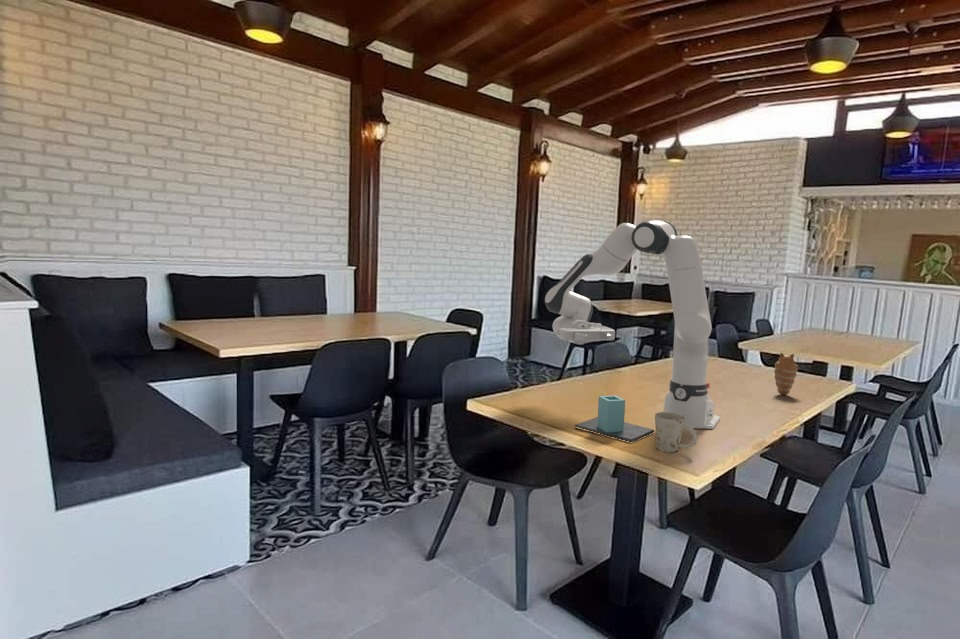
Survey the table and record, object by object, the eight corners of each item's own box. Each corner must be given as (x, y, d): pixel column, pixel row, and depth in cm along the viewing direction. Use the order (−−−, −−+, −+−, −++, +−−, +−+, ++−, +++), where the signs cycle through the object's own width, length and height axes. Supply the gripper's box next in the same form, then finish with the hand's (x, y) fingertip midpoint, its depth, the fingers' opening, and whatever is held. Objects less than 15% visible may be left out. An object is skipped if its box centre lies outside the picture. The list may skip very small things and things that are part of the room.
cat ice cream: (773, 396, 244) (777, 353, 242) (770, 392, 251) (774, 350, 249) (796, 398, 241) (800, 355, 239) (793, 394, 249) (797, 352, 247)
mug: (659, 442, 177) (661, 410, 176) (701, 452, 169) (703, 418, 168) (648, 449, 170) (650, 415, 169) (691, 459, 163) (693, 424, 161)
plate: (599, 419, 200) (600, 401, 199) (653, 433, 186) (655, 413, 186) (575, 428, 189) (576, 408, 188) (631, 443, 175) (632, 422, 174)
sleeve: (597, 426, 187) (598, 396, 186) (613, 425, 189) (615, 395, 188) (606, 432, 181) (608, 400, 180) (623, 431, 183) (625, 400, 182)
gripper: (553, 323, 209) (570, 328, 196) (603, 323, 215) (623, 328, 202) (552, 340, 210) (569, 347, 197) (602, 340, 216) (622, 346, 203)
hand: (597, 337), depth 199 cm, fingers open, 8 cm apart
